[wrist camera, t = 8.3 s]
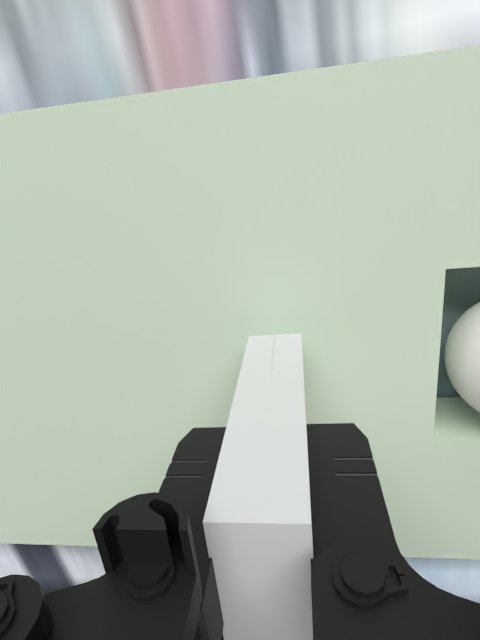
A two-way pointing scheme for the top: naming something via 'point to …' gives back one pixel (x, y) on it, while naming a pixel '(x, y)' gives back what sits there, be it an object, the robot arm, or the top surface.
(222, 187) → the green
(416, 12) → the top surface
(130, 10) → the top surface
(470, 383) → the ball
